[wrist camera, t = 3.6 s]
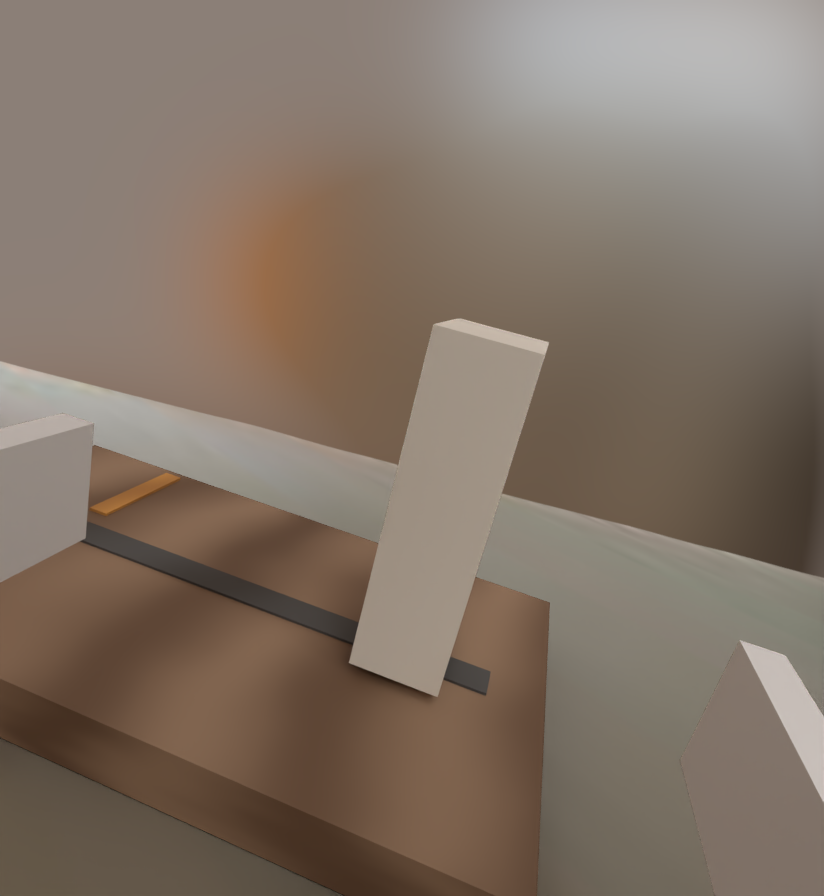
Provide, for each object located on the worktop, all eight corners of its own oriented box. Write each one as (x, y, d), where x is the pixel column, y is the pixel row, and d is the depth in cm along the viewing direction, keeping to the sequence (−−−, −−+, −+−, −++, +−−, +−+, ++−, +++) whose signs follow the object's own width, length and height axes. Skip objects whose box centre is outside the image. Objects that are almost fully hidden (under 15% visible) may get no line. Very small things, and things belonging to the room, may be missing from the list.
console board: (536, 639, 27) (550, 600, 26) (510, 971, 14) (537, 909, 13) (92, 480, 31) (95, 442, 30) (-259, 618, 18) (-267, 558, 17)
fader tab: (459, 628, 22) (548, 342, 19) (437, 697, 18) (545, 354, 15) (384, 601, 22) (459, 318, 19) (348, 663, 19) (433, 324, 15)
